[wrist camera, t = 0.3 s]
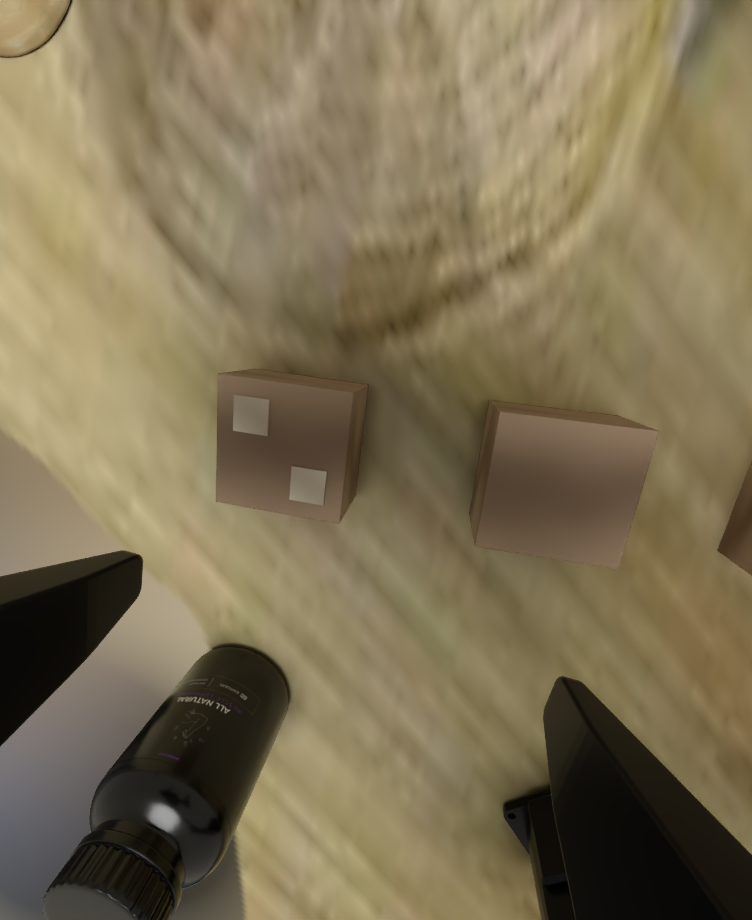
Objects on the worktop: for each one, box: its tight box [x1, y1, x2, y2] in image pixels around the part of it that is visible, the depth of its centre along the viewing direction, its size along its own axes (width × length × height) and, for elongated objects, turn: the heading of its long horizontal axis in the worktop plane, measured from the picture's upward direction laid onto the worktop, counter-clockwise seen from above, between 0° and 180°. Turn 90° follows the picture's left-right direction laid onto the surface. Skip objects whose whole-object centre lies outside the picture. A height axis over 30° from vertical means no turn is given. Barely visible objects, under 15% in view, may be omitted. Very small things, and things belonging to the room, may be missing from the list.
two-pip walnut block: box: [216, 369, 368, 524], centre depth 20 cm, size 6×6×4 cm
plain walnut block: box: [469, 400, 659, 569], centre depth 19 cm, size 6×6×4 cm
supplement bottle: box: [42, 647, 288, 920], centre depth 22 cm, size 7×7×12 cm
